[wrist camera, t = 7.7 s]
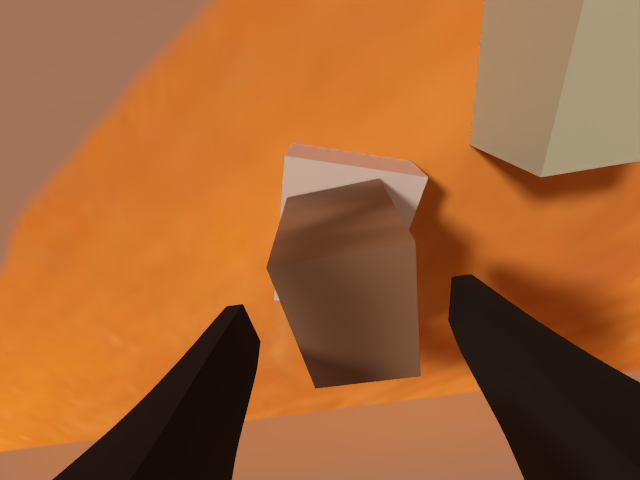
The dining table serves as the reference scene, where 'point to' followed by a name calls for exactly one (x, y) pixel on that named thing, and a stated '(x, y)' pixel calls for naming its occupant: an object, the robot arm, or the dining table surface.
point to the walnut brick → (348, 284)
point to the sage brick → (559, 84)
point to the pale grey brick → (351, 175)
